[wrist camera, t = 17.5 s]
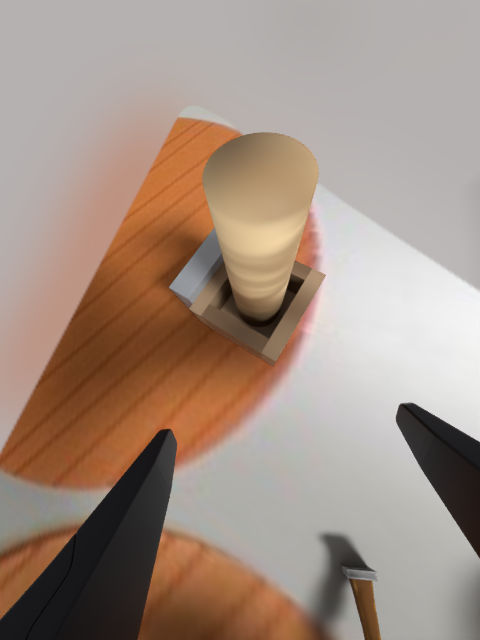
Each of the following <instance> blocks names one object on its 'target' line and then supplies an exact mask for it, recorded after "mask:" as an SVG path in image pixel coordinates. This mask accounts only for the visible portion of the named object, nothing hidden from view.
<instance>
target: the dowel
mask: <svg viewBox="0 0 480 640" xmlns="http://www.w3.org/2000/svg"><path fill="white" fill-rule="evenodd" d="M318 175H319V171H318V164H317V161H316V159H315V157H314V155H313V154H312V152H311V151H310V150H309V149H308V148H307V147H306V146H305V145H304V144H302V143H301V142H299V141H298V140H296V139H294V138H291V137H289V136H286V135H282V134H277V133H253V134H247V135H244V136H240V137H238V138H235V139H233V140H231V141H229V142H227V143H226V144H224V145H222V146H221V147H220V148H219V149H217V150H216V151H215V152H214V153H213V155H212V156H211V157H210V158H209V160H208V162H207V163H206V166H205V168H204V172H203V179H202V180H203V187H204V191H205V194H206V198H207V202H208V205H209V209H210V212H211V216H212V220H213V223H214V227H215V230H216V234H217V238H218V241H219V245H220V249H221V252H222V256H223V259H224V263H225V267H226V270H227V274H228V277H229V281H230V285H231V288H232V292H233V296H234V299H235V303H236V306H237V310H238V314H239V316H240V318H241V319H242V320H243V321H244V322H245V323H246V324H248V325H250V326H253V327H264V326H267V325H270V324H271V323H273V322H274V321H275V320H276V319H277V317H278V315H279V313H280V309H281V306H282V302H283V299H284V295H285V292H286V289H287V285H288V282H289V278H290V275H291V271H292V268H293V264H294V261H295V257H296V254H297V251H298V247H299V244H300V240H301V237H302V233H303V230H304V226H305V223H306V219H307V216H308V213H309V209H310V206H311V202H312V199H313V195H314V192H315V188H316V185H317V181H318Z"/></svg>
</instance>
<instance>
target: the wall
mask: <svg viewBox="0 0 480 640" xmlns="http://www.w3.org/2000/svg"><path fill="white" fill-rule="evenodd" d="M223 261H224V259H223V256H222V252H221V249H220V245H219V241H218V238H217V234H216V230H215V228H214V229H213V230H212V231H211V233H210V234H209V235H208V237H207V238H206V239H205V241H204V242H203V243H202V245H201V246H200V247H199V249H198V250H197V251H196V252H195V254H194V255H193V256H192V258H191V259H190V260H189V262H188V263H187V264H186V266H185V267H184V268H183V270H182V271H181V272H180V273H179V275H178V276H177V277H176V279H175V280H174V281H173V283H172V284H171V285H170V287H169V288H170V289H171V290H172V291H173V292H174V293H175V294H176V296H177V297H178V298H179V299H180V300H181V301H182V302H183V303H184V304H185V305H186V306H187V307H188V308H190V307H191V305H192V304H193V303H194V301H195V300H196V298H197V297H198V296H199V294H200V293H201V291H202V290H203V289H204V287H205V286H206V285H207V283H208V282H209V280H210V279H211V278H212V276H213V275H214V273H215V272H216V271H217V269H218V268H219V266H220V265H221V264H222V262H223Z"/></svg>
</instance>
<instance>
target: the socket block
mask: <svg viewBox="0 0 480 640" xmlns="http://www.w3.org/2000/svg"><path fill="white" fill-rule="evenodd" d="M325 276H326V275H325V274H323V273H321V272H318V271H316V270H314V269H312V268H310V267H308V266H306V265H303V264H301V263H299V262H297V261H294V264H293V268H292V271H291V275H290V278H289V282H288V285H287V289H286V292H285V295H284V299H283V302H282V306H281V309H280V313H279V315H278V317H277V319H276V320H275V321H274V322H273V323H271V324H270V325H267V326H264V327H253V326H250V325H248V324H246V323H245V322H244V321H243V320H242V319H241V318H240V316H239V314H238V310H237V306H236V303H235V299H234V296H233V292H232V288H231V285H230V281H229V277H228V274H227V270H226V267H225V263H224V261H223V262H222V264H221V265H220V266H219V268H218V269H217V271H216V272H215V273H214V275H213V276H212V278H211V279H210V280H209V282H208V283H207V285H206V286H205V287H204V289H203V290H202V291H201V293H200V294H199V296H198V297H197V298H196V300H195V301H194V303H193V304H192V305H191V307H190V308H189V309H190V311H191V312H192V313H193V314H194V315H195V316H196V317H197V318H198V319H199V320H200V321H201V322H202V323H203V324H205V325H207V326H208V327H210V328H212V329H213V330H215V331H216V332H218V333H220V334H221V335H223V336H224V337H226V338H228V339H229V340H231V341H233V342H234V343H236V344H237V345H239V346H241V347H242V348H244V349H246V350H247V351H249V352H250V353H252V354H254V355H255V356H257V357H259V358H260V359H262V360H263V361H265V362H267V363H268V364H270V365H271V366H274V364H275V362H276V361H277V359H278V357H279V356H280V354H281V352H282V350H283V349H284V347H285V345H286V343H287V342H288V340H289V338H290V337H291V335H292V333H293V331H294V330H295V328H296V326H297V325H298V323H299V321H300V319H301V318H302V316H303V314H304V313H305V311H306V309H307V307H308V306H309V304H310V302H311V301H312V299H313V297H314V295H315V294H316V292H317V290H318V288H319V287H320V285H321V283H322V281H323V280H324V278H325Z"/></svg>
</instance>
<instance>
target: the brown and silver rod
mask: <svg viewBox="0 0 480 640" xmlns="http://www.w3.org/2000/svg"><path fill="white" fill-rule="evenodd" d="M340 565H341V564H340ZM341 568H342V572H343V573H344V574H345V575H346V576H347V577H348V578H349V581H350V584H351V587H352V590H353V594H354V598H355V602H356V605H357V609H358V613H359V617H360V621H361V624H362V628H363V633H364V638H365V640H381V637H380V631H379V625H378V619H377V613H376V607H375V601H374V594H373V585H372V581H378V580H377V575H376V574H377V572H376V571H374V570H373V569H371V568H369V567H368V566H367V568H357V567H343V566H342V565H341Z"/></svg>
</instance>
